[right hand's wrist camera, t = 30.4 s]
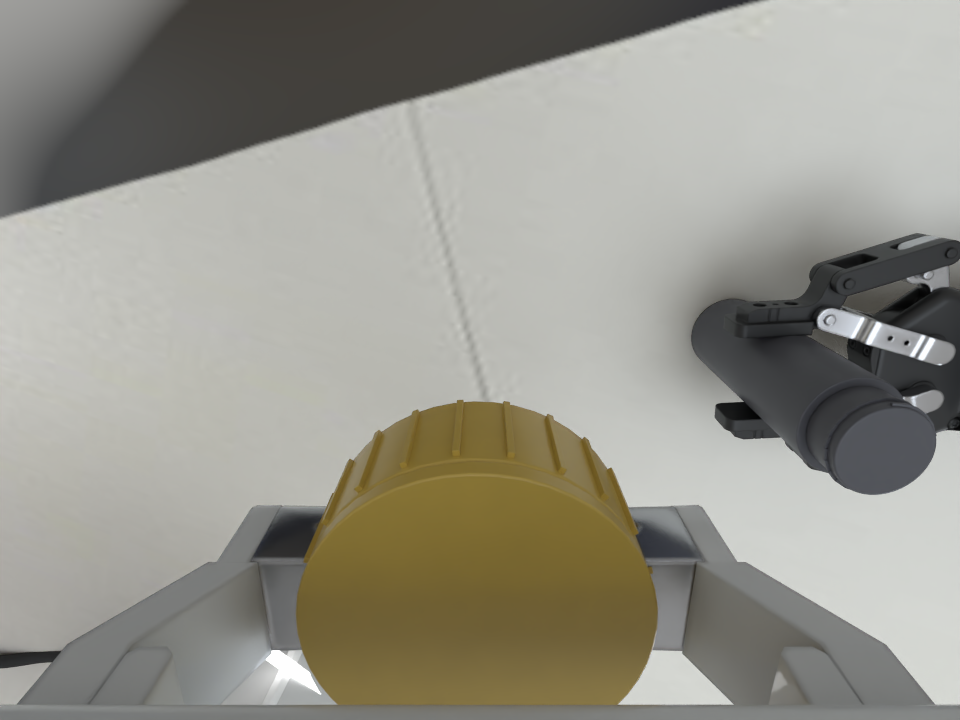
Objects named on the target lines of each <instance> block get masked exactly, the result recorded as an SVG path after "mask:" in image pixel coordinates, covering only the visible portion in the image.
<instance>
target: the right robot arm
mask: <svg viewBox="0 0 960 720" xmlns="http://www.w3.org/2000/svg"><path fill="white" fill-rule="evenodd" d="M326 507H327V506H281V505H257V506H255V507H253V508H252V509H251V510H250V511H249V513H248V514H247V516H246V517H245V519H244V520H243V522H242V524H241V525H240V527H239V528H238V530H237V531H236V533H235V534H234V536H233V538H232V539H231V541H230V542H229V544H228V545H227V547H226V548H225V550H224V551H223V553H222V555H221V556H220V558H219V559H218V561H217V562H208V563H206V564H204V565H203V566H201V567H199V568H198V569H196V570H194V571H192V572H191V573H189V574H187V575H186V576H184V577H182V578H180V579H179V580H177V581H175V582H173V583H172V584H170V585H168V586H167V587H165V588H163V589H161V590H160V591H158V592H156V593H155V594H153V595H151V596H149V597H148V598H146V599H144V600H143V601H141V602H139V603H137V604H136V605H134V606H132V607H131V608H129V609H127V610H125V611H124V612H122V613H120V614H118V615H117V616H115V617H113V618H112V619H110V620H108V621H106V622H105V623H103V624H101V625H100V626H98V627H96V628H94V629H93V630H91V631H89V632H88V633H86V634H84V635H82V636H81V637H79V638H77V639H75V640H74V641H72V642H70V643H69V644H67V645H66V647H65V648H64V649H63V650H62V651H53V652H27V653H20V654H12V655H0V668H9V667H17V666H23V665H30V664H36V663H45V662H52V663H51V664H50V666H49V667H48V668H47V669H46V670H45V672H44V673H43V674H42V675H41V676H40V677H39V679H38V680H37V681H36V682H35V683H34V685H33V686H32V687H31V688H30V689H29V691H28V692H27V693H26V694H25V695H24V697H23V698H22V699H21V700H20V701H19V702H18V704H17V705H0V720H960V705H935V704H934V703H933V701H932V700H931V699H930V698H929V697H928V695H927V694H926V693H925V692H924V690H923V689H922V688H921V687H920V686H919V684H918V683H917V682H916V681H915V679H914V678H913V677H912V676H911V675H910V673H909V672H908V671H907V670H906V668H905V667H904V666H903V665H902V664H901V662H900V661H899V660H898V659H897V657H896V656H895V655H894V654H893V653H892V651H891V650H890V649H889V648H888V646H887V645H885V644H884V643H882V642H880V641H879V640H877V639H875V638H873V637H872V636H870V635H868V634H867V633H865V632H863V631H862V630H860V629H858V628H857V627H855V626H853V625H851V624H850V623H848V622H846V621H845V620H843V619H841V618H840V617H838V616H836V615H834V614H833V613H831V612H829V611H828V610H826V609H824V608H823V607H821V606H819V605H817V604H816V603H814V602H812V601H811V600H809V599H807V598H806V597H804V596H802V595H801V594H799V593H797V592H795V591H794V590H792V589H790V588H789V587H787V586H785V585H784V584H782V583H780V582H778V581H777V580H775V579H773V578H772V577H770V576H768V575H767V574H765V573H763V572H761V571H760V570H758V569H756V568H755V567H753V566H751V565H750V564H748V563H746V562H737V561H736V559H735V557H734V556H733V554H732V553H731V551H730V550H729V548H728V547H727V545H726V543H725V542H724V540H723V539H722V537H721V536H720V534H719V532H718V531H717V529H716V528H715V526H714V525H713V523H712V521H711V520H710V518H709V517H708V515H707V514H706V512H705V511H704V509H703V508H702V507H701V506H699V505H684V506H668V507H628V508H629V510H630V513H631V515H632V518H633V520H634V522H635V525H636V527H637V530H638V532H639V534H637V535H635V536H636V538H637V541H638V543H639V546H640V549H641V551H642V554H643V557H644V559H645V561H646V564H647V566H648V567H652V569H653V574H651V578H652V581H653V584H654V587H655V591H656V598H657V605H658V626H657V632H656V637H655V642H654V647H653V650H668V651H683V652H682V654H683V655H685V656H686V657H687V658H688V659H689V660H690V661H691V662H692V663H693V664H694V665H695V666H696V667H697V668H698V669H699V670H700V671H701V672H702V673H703V674H704V675H705V676H706V677H707V678H708V679H709V680H710V681H711V682H712V683H713V684H714V685H715V686H716V687H717V688H718V689H719V690H720V691H721V692H722V693H723V694H724V695H725V696H726V697H727V698H728V699H729V700H730V701H731V702H732V703H733V704H734V705H338V704H336V703H335V702H334V701H333V700H332V699H331V698H330V696H329V695H328V694H327V693H326V692H325V690H324V689H323V688H322V687H321V686H320V684H319V683H318V681H317V680H316V678H315V676H314V675H313V673H312V672H311V670H310V668H309V666H308V664H307V661H306V659H305V657H304V655H303V652H302V649H301V645H300V641H299V637H298V633H297V623H296V603H297V593H298V589H299V585H300V581H301V578H302V575H303V572H304V570H305V567H306V565H307V563H304V562H303V561H304V557H305V555H306V553H307V550H308V548H309V546H310V543H311V541H312V539H313V537H314V534H315V532H316V530H317V527H318V525H319V523H320V521H321V518H322V516H323V514H324V511H325V509H326Z"/></svg>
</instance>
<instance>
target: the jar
mask: <svg viewBox="0 0 960 720" xmlns="http://www.w3.org/2000/svg"><path fill="white" fill-rule="evenodd" d="M744 303H746V301H743V300H739V299H727V300H723V301H720V302H717V303H715V304H713V305H711V306H710V307H708V308H707V309H706V310H705V311H704V312H703V313H702V314H701V315H700V316H699V317H698V319H697V321H696V322H695V325H694V327H693V331H692V346H693V349H694V351H695V353H696V355H697V356H698V357H699V359H700V360H701V361H702V362H704V363H705V364H706V365H707V366H708V367H709V368H710V369H711V370H712V371H713V372H714V373H715V374H716V375H717V376H718V377H719V378H720V379H721V380H722V381H723V382H724V383H725V384H726V385H727V386H728V387H729V388H730V389H731V390H733V391H734V392H735V393H736V394H737V395H738V396H739V397H740V398H741V399H742V400H743V401H744V402H745V403H746V404H747V405H748V406H749V407H750V408H751V409H752V410H753V411H754V412H755V413H756V414H757V415H758V416H759V417H760V418H762V419H763V420H764V421H765V422H766V423H767V424H768V425H769V426H770V427H771V428H772V429H773V430H774V431H775V432H776V433H777V434H778V435H779V436H780V437H781V438H782V439H783V440H784V441H785V442H786V443H787V444H788V445H789V446H791V447H792V448H793V449H794V450H795V451H796V452H797V453H798V454H799V455H800V456H801V457H802V458H803V459H804V460H805V461H806V462H807V463H808V464H810V465H811V466H812V467H814V468H816V469H818V470H820V471H823V472H826V473H829V474H830V476H831V477H832V478H833V479H834V480H835V481H836V482H837V483H839V484H840V485H842V486H843V487H845V488H847V489H850V490H853V491H855V492H858V493H862V494H868V495H878V494H885V493H890V492H893V491H896V490H898V489H901V488H903V487H905V486H906V485H908V484H910V483H911V482H913V481H914V480H915V479H916V478H918V477H919V476H920V475H921V474H922V473H923V472H924V470H925V469H926V468H927V466H928V465H929V463H930V462H931V460H932V458H933V455H934V452H935V448H936V432H935V428H934V424H933V422H932V421H931V419H930V418H929V416H928V415H927V414H926V413H925V412H923V411H922V410H921V409H919V408H918V407H915V406H913V405H912V404H911V403H909V402H908V401H905V400H904V399H903V397H902V395H901V394H900V393H899V391H898V390H897V389H896V388H895V387H894V386H892V385H891V384H889V383H888V382H886V381H884V380H883V379H881V378H879V377H877V376H876V375H874V374H872V373H870V372H869V371H867V370H865V369H863V368H862V367H860V366H858V365H856V364H855V363H853V362H851V361H850V360H848V359H846V358H844V357H843V356H841V355H839V354H837V353H836V352H834V351H832V350H830V349H829V348H827V347H825V346H823V345H822V344H820V343H818V342H817V341H815V340H813V339H811V338H810V337H808V336H806V335H802V336H783V337H763V338H738V337H735V336H733V335H732V334H730V333H729V332H728V331H726V330H725V329H724V317H725V315H726V314H732V313H736V311H737V306H739V305H741V304H744Z"/></svg>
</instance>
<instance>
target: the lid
mask: <svg viewBox="0 0 960 720" xmlns="http://www.w3.org/2000/svg"><path fill="white" fill-rule="evenodd" d="M637 534H639V532H638V530H637V527H636V525H635V522H634V520H633V518H632V515H631V513H630V510H629V508H628V505H627V503H626V500H625V498H624V496H623V493H622V491H621V488H620V486H619V483H618V481H617V478H616V476H615V474H614V471H613V470H612V468H609V469H607V468H606V466H605V465H604V463H603V462H602V461H601V459H600V458H599V456H598V455H597V454H596V453H595V452H594V451H593V450H592V448H591V445H590V443H589V440H588V439H587V438H585V437H584V438H583V439H581V438H580V437H579V436H577V435H576V434H575V433H574V432H572V431H571V430H570V429H568V428H567V427H565V426H563V425H561V424H560V423H558V422H556V421H555V420H554V418H553V416H551V415H549V414H547V416H544V415H542V414H539V413H537V412H535V411H531V410H528V409H524V408H521V407H517V406H514V405H510V402H506V401H504V402H503V404H501V403H495V402H464V401H463V400H457V403H452V404H447V405H442V406H437V407H433V408H430V409H427V410H424V411H421V412H419V410H415V411H413V412H412V415H411V416H409V417H407V418H404V419H402V420H400V421H398V422H396V423H395V424H393V425H392V426H390V427H389V428H387V429H386V430H384V431H383V432H381V431H380V430H378V431H377V432H376V433H375V434H374V437H373V439H372V441H371V442H369V443H368V444H367V445H366V446H365V447H364V449H363V450H362V451H361V452H360V453H359V454H358V456H357V457H356V458H355V459H354V461H353V460H351V459H349V461H348V462H347V464H346V466H345V469H344V471H343V473H342V476H341V478H340V480H339V483H338V485H337V487H336V489H335V492H334V493H332V495H331V498H330V500H329V502H328V505H327V507H326V509H325V511H324V514H323V516H322V518H321V521H320V523H319V525H318V527H317V530H316V532H315V534H314V537H313V539H312V541H311V543H310V546H309V548H308V550H307V553H306V555H305V557H304V561H303V562H304V563H307V565H306V567H305V570H304V572H303V575H302V578H301V581H300V585H299V589H298V593H297V603H296V623H297V633H298V637H299V641H300V645H301V649H302V652H303V655H304V657H305V659H306V661H307V664H308V666H309V668H310V670H311V672H312V673H313V675H314V676H315V678H316V680H317V681H318V683H319V684H320V686H321V687H322V688H323V689H324V690H325V692H326V693H327V694H328V695H329V696H330V698H331V699H332V700H333V701H334V702H335V703H336V704H338V705H618V704H619V703H620V702H621V701H622V699H623V698H624V697H625V696H626V695H627V694H628V693H629V692H630V690H631V689H632V688H633V686H634V685H635V684H636V682H637V681H638V680H639V678H640V676H641V674H642V672H643V671H644V669H645V667H646V665H647V663H648V660H649V658H650V655H651V652H652V650H653V647H654V642H655V637H656V632H657V626H658V605H657V598H656V591H655V587H654V584H653V581H652V578H651V574H653V569H652V567H648V566H647V564H646V561H645V559H644V557H643V554H642V551H641V549H640V546H639V543H638V541H637V538H636V536H635V535H637Z"/></svg>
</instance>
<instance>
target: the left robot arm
mask: <svg viewBox="0 0 960 720" xmlns="http://www.w3.org/2000/svg"><path fill="white" fill-rule="evenodd" d="M959 259H960V242H959V241H956V240H951V239H945V238H940V237H935V236H930V235H924V234H919V233H916V234H912V235H909V236H905V237H902V238H899V239H896V240H892V241H889V242H886V243H883V244H879V245H876V246H873V247H870V248H867V249H863V250H860V251H857V252H854V253H850V254H847V255H844V256H841V257H837V258H834V259H831V260H828V261H824V262H821V263H818V264H816V265H815V266H814V267H813V268H812V269H811V271H810V274H809V278H810V281H811V283H810V285H809V287H808V289H807V291H806V292H805V293H804V294H803V295H802V296H801V297H799V298H797V299H794V300H778V301H759V302H746V303H744V304H741V305H739V306H737V311H736V313H732V314H726V315H725V317H724V329H725V330H726V331H728V332H729V333H730V334H732V335H733V336H735V337H738V338H763V337H783V336H802V335H812V330H813V329H820V330H822V331H825V332H829V333H832V334H836V335H839V336H843V337H847V338H849V339H848V344H847V351H848V360H850V361H851V362H853V363H855V364H856V365H858V366H860V367H862V368H863V369H865V370H867V371H869V372H870V373H872V374H874V375H876V376H877V377H879V378H881V379H883V380H884V381H886V382H888V383H889V384H891V385H892V386H894V387H895V388H896V389H897V390H898V391H899V393H900V394H901V395H902V397H903V399H904V400H905V401H908V402H909V403H911V404H912V405H913V406H915V407H918V408H919V409H921V410H922V411H923V412H925V413H926V414H927V415H928V416H929V418H930V419H931V421H932V422H933V424H934V428H935V432H936V433H938V432H941V431H944V430H956V431H960V290H958V289H955V288H951V287H950V280H949V265H952V264H954V263H956V262H957V261H958V260H959ZM899 280H902V281H905V282H908V283H911V284H917V285H918V286H917V287H916V288H914V289H912V290H911V291H909V292H908V293H906V294H905V295H903V296H902V297H900V298H899V299H897V300H896V301H894V302H893V303H891V304H890V305H888V306H887V307H885V308H884V309H882V310H881V311H879V312H877V313H876V314H874V315H873V314H870V313H866V312H863V311H859V310H856V309H852V308H849V307H845V306H842V305H843V303H844V301H845V300H846V298H847V296H849V295H853V294H856V293H859V292H863V291H866V290H869V289H873V288H876V287H879V286H883V285H886V284H889V283H892V282H896V281H899ZM715 418H716V420H717V421H718V422H719V423H720V424H721V425H722V426H723V428H724V429H726V430H728V431H730V432H731V433H732V434H733V435H734V436H735V437H738V438H741V439H753V438H755V439H758V438H779V437H780V436H779V435H778V434H777V433H776V432H775V431H774V430H773V429H772V428H771V427H770V426H769V425H768V424H767V423H766V422H765V421H764V420H763V419H762V418H760V417H759V416H758V415H757V414H756V413H755V412H754V411H753V410H752V409H751V408H750V407H749V406H748V405H747V404H746V403H745V402H734V403H719V404H717V405H716V408H715ZM785 444H786V445H787V446H788V447H789V448H790V449H791V450H792V451H794V452H795V453H796V454H797V455H798V456H799V457H800V458H801V459H802V460H803V461H804V463H805V464H806V465H807V466H808V467H809V468H811V469H814V470H818V469H816V468H814V467H812V466H811V465H810V464H808V463H807V462H806V461H805V460H804V459H803V458H802V457H801V456H800V455H799V454H798V453H797V452H796V451H795V450H794V449H793V448H792V447H791V446H789V445H788V444H787V443H786V442H785ZM819 471H820V470H819Z"/></svg>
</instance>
